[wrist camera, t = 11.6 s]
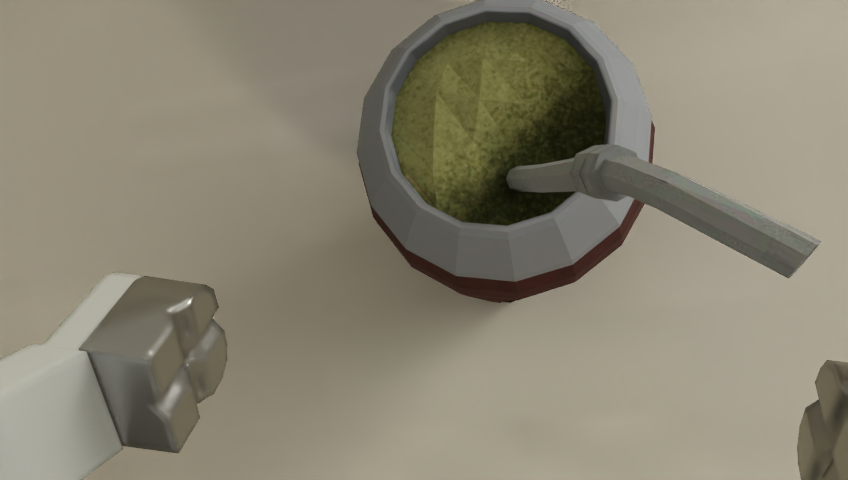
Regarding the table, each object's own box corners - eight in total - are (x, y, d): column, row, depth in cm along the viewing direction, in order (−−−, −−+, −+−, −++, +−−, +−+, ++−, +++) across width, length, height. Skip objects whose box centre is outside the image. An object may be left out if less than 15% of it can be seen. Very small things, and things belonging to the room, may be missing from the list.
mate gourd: (416, 87, 25) (234, -309, 11) (669, 101, 24) (845, -332, 10) (388, 317, 24) (139, 217, 10) (652, 346, 23) (824, 279, 8)
